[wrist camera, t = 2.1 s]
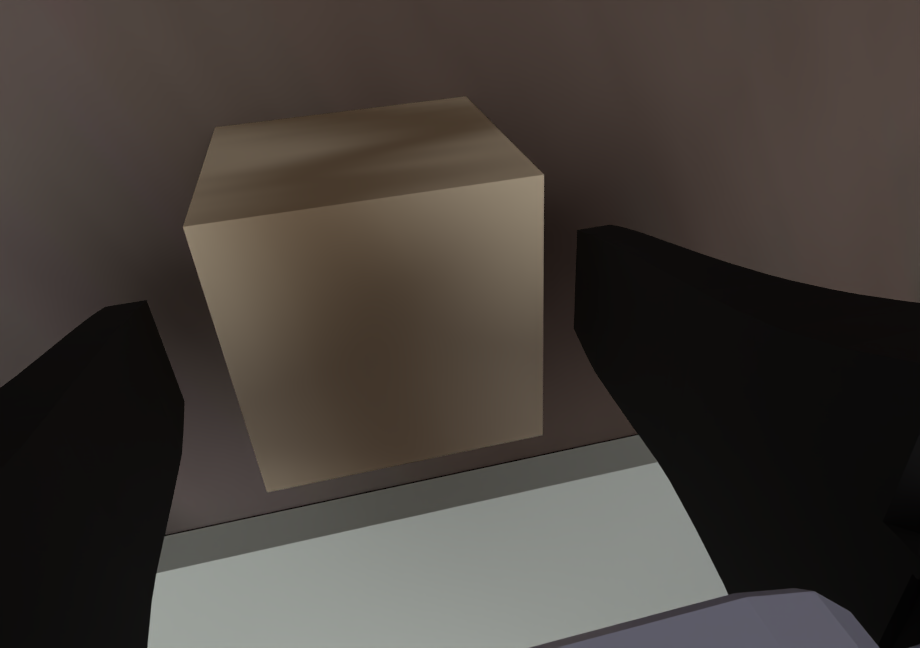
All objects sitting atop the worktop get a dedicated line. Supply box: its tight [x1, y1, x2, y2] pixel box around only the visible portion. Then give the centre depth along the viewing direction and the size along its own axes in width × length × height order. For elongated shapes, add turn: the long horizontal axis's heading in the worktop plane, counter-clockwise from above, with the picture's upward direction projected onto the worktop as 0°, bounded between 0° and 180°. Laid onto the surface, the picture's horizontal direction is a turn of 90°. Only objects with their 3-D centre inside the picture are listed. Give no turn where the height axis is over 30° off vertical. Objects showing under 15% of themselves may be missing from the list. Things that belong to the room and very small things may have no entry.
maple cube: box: [183, 96, 544, 492], centre depth 12 cm, size 5×5×5 cm
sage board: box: [147, 435, 728, 648], centre depth 22 cm, size 20×14×1 cm
